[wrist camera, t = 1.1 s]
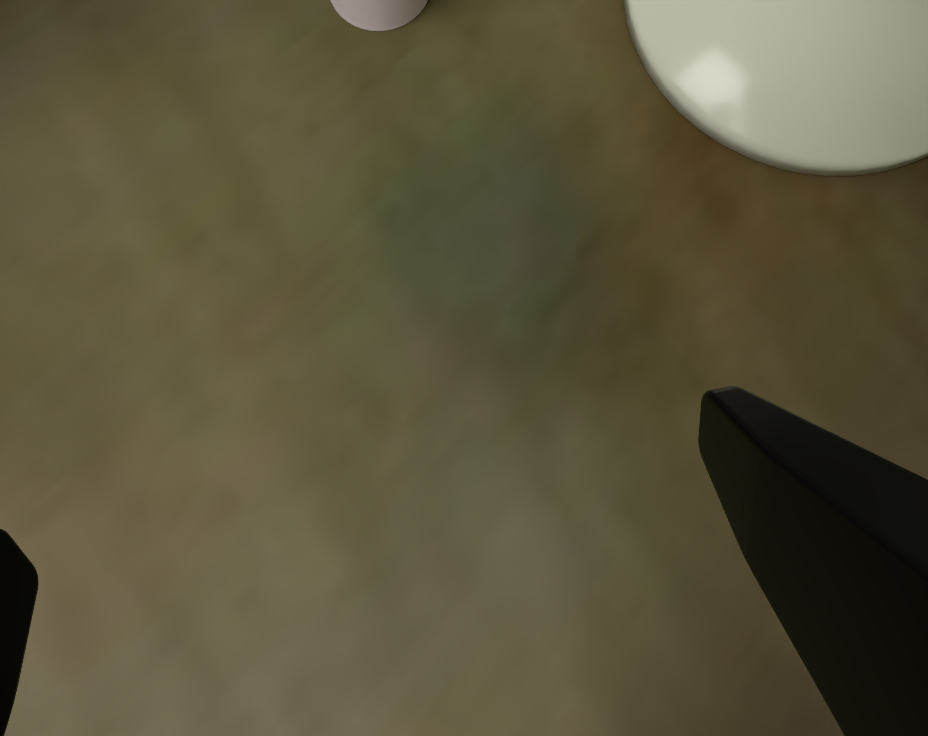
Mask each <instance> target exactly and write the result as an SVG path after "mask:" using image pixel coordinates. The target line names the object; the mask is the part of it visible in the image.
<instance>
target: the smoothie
mask: <svg viewBox="0 0 928 736" xmlns="http://www.w3.org/2000/svg"><path fill="white" fill-rule="evenodd" d="M330 1H331V3H332V5H333V7H334V8H335V10H336V11H337V12H338V14H339V15H340V16H341V17H342V18H343V19H345V20H346V21H347V22H349V23H350V24H352V25H354V26H356V27H359V28H362V29H365V30H371V31H386V30H392V29H395V28H398V27H401V26H403V25H405V24H407V23H409V22H410V21H412V20H413V19H414V18H415V17H417V16H418V15H419V13H420V12H421V11H422V10H423V9H424V7H425V5H426V3H427V1H428V0H330Z"/></svg>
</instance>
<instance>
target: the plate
mask: <svg viewBox="0 0 928 736" xmlns="http://www.w3.org/2000/svg"><path fill="white" fill-rule="evenodd" d="M623 6H624V11H625V16H626V21H627V26H628V29H629V32H630V35H631V38H632V41H633V44H634V47H635V50H636V52H637V54H638V56H639V58H640V59H641V61H642V63H643V65H644V67H645V69H646V71H647V73H648V74H649V76H650V77H651V79H652V80H653V82H654V83H655V84H656V86H657V87H658V89H659V90H660V92H661V93H662V94H663V95H664V96H665V97H666V99H667V100H668V101H669V102H670V103H671V104H672V105H673V106H674V107H675V109H676V110H677V111H678V112H679V113H680V114H681V115H683V116H684V117H685V118H686V119H687V120H688V121H689V122H691V123H692V124H693V125H694V126H695V127H696V128H698V129H699V130H700V131H702V132H703V133H705V134H706V135H708V136H709V137H711V138H712V139H714V140H715V141H717V142H718V143H720V144H721V145H723V146H725V147H727V148H729V149H731V150H733V151H735V152H737V153H739V154H741V155H743V156H744V157H747V158H750V159H752V160H755V161H758V162H760V163H763V164H766V165H768V166H771V167H775V168H779V169H784V170H788V171H792V172H796V173H802V174H811V175H820V176H857V175H865V174H872V173H880V172H883V171H887V170H891V169H895V168H899V167H902V166H906V165H908V164H911V163H913V162H915V161H918V160H920V159H923V158H925V157H928V0H623Z"/></svg>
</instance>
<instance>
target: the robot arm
mask: <svg viewBox="0 0 928 736" xmlns="http://www.w3.org/2000/svg"><path fill="white" fill-rule="evenodd" d="M698 442H699V449H700V453H701V457H702V459H703V462H704V464H705V466H706V469H707V471H708V473H709V476H710V478H711V480H712V483H713V485H714V488H715V490H716V492H717V495H718V497H719V499H720V502H721V504H722V507H723V509H724V511H725V514H726V516H727V518H728V521H729V523H730V525H731V528H732V530H733V533H734V535H735V537H736V540H737V542H738V544H739V546H740V549H741V551H742V553H743V555H744V557H745V559H746V561H747V563H748V565H749V567H750V569H751V571H752V573H753V575H754V576H755V578H756V580H757V582H758V583H759V585H760V587H761V589H762V590H763V592H764V594H765V596H766V598H767V599H768V601H769V603H770V605H771V606H772V608H773V610H774V612H775V613H776V615H777V617H778V619H779V620H780V622H781V624H782V626H783V628H784V629H785V631H786V633H787V635H788V636H789V638H790V640H791V642H792V643H793V645H794V647H795V649H796V650H797V652H798V654H799V656H800V658H801V659H802V661H803V663H804V665H805V666H806V668H807V670H808V672H809V673H810V675H811V677H812V679H813V681H814V682H815V684H816V686H817V688H818V689H819V691H820V693H821V695H822V696H823V698H824V700H825V702H826V703H827V705H828V707H829V709H830V711H831V712H832V714H833V716H834V718H835V719H836V721H837V723H838V725H839V726H840V728H841V730H842V732H843V734H844V735H845V736H928V480H927V479H925V478H923V477H921V476H919V475H917V474H915V473H913V472H911V471H909V470H907V469H905V468H903V467H901V466H898V465H896V464H894V463H892V462H890V461H888V460H886V459H884V458H882V457H880V456H878V455H876V454H874V453H872V452H870V451H868V450H866V449H864V448H862V447H860V446H858V445H856V444H854V443H852V442H850V441H848V440H846V439H844V438H842V437H840V436H838V435H836V434H834V433H831V432H829V431H827V430H825V429H823V428H821V427H819V426H817V425H815V424H813V423H811V422H809V421H807V420H805V419H803V418H801V417H799V416H797V415H795V414H793V413H791V412H789V411H787V410H785V409H783V408H781V407H779V406H777V405H775V404H773V403H771V402H769V401H767V400H765V399H762V398H760V397H758V396H756V395H754V394H752V393H750V392H748V391H746V390H744V389H742V388H740V387H736V386H730V387H725V388H720V389H715V390H709V391H707V392H706V393H705V394H704V395H703V397H702V401H701V412H700V425H699V437H698ZM37 590H38V575H37V571H36V569H35V567H34V565H33V564H32V563H31V562H30V560H29V559H28V558H27V557H26V555H25V554H24V553H23V552H22V550H21V549H20V548H19V546H18V545H17V544H16V543H15V541H14V540H13V539H12V538H11V536H10V535H9V534H8V533H7V532H6V531H4V530H2V529H0V736H4V734H5V731H6V728H7V725H8V721H9V718H10V714H11V711H12V707H13V704H14V700H15V695H16V691H17V687H18V683H19V678H20V673H21V668H22V663H23V658H24V654H25V649H26V644H27V639H28V634H29V629H30V624H31V620H32V615H33V610H34V605H35V600H36V595H37Z"/></svg>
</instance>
